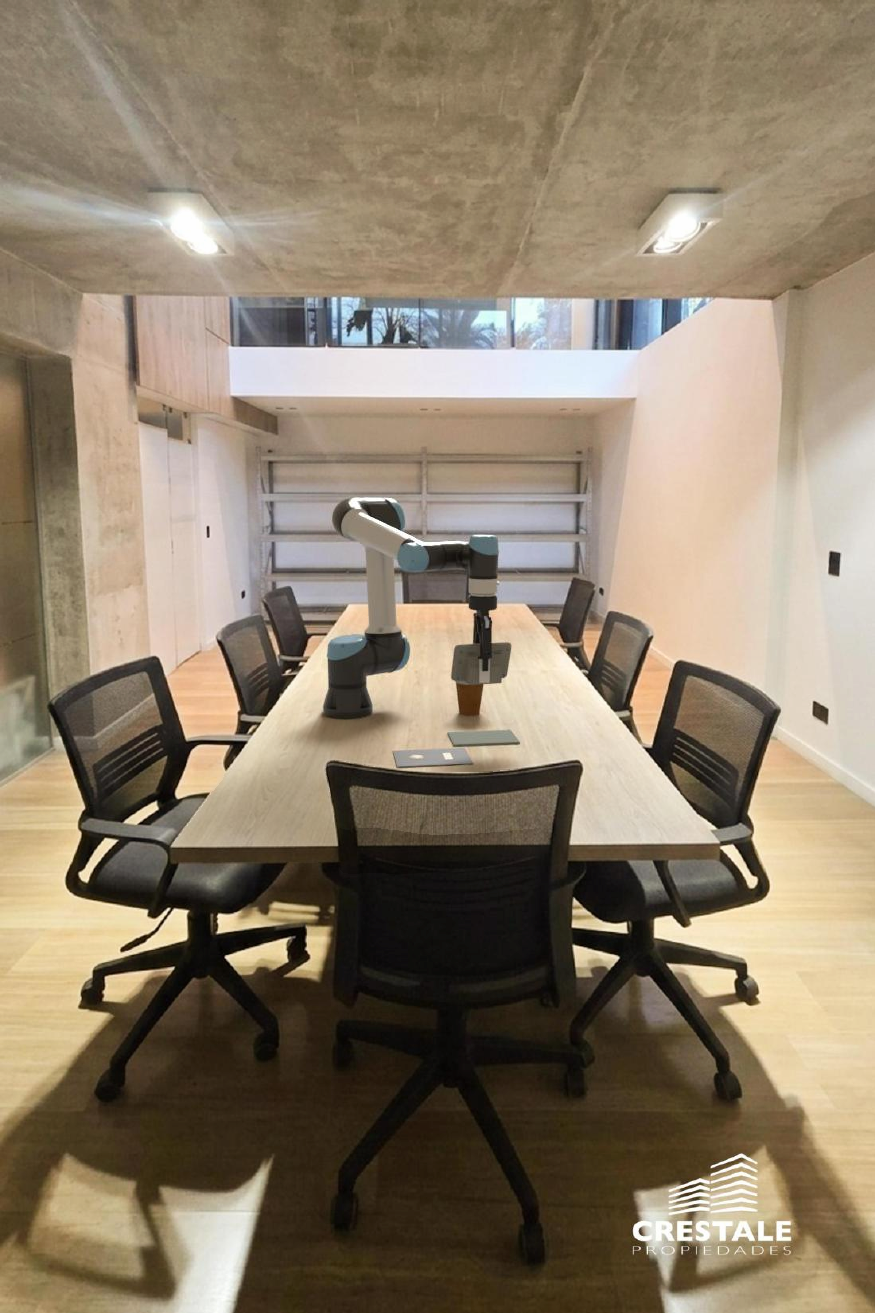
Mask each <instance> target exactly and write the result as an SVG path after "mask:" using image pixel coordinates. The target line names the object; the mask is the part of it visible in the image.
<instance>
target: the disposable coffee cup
mask: <svg viewBox="0 0 875 1313" xmlns="http://www.w3.org/2000/svg"><path fill="white" fill-rule="evenodd" d="M454 682H455V688H456V695H457V704H458V712H459V714H460V715H462V716H476V715H480V714H481V713H480V712H481V705H482V698H483V691H484V685H485V684H481V685H469V684H468V683H466V682H465V681H454Z"/></svg>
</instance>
